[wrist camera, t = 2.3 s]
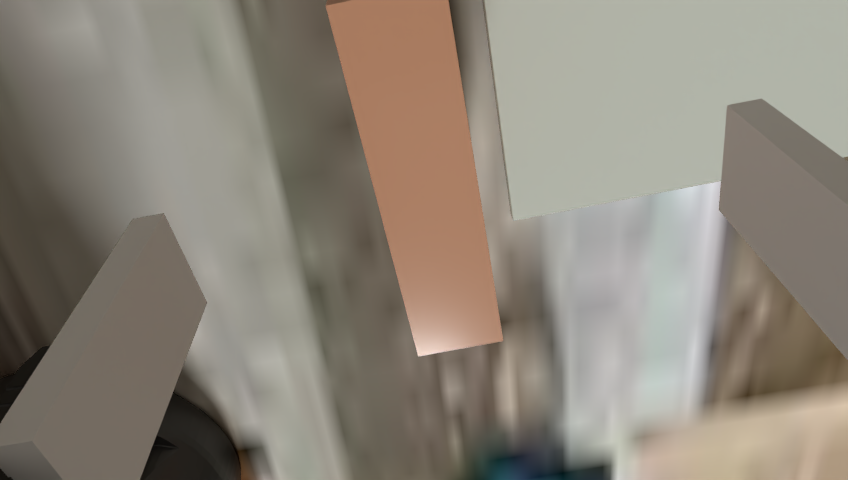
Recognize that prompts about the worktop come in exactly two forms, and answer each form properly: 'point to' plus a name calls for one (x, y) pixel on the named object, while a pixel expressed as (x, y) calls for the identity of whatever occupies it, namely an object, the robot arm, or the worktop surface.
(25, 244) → the worktop surface
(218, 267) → the worktop surface
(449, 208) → the tile
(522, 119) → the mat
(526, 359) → the worktop surface
